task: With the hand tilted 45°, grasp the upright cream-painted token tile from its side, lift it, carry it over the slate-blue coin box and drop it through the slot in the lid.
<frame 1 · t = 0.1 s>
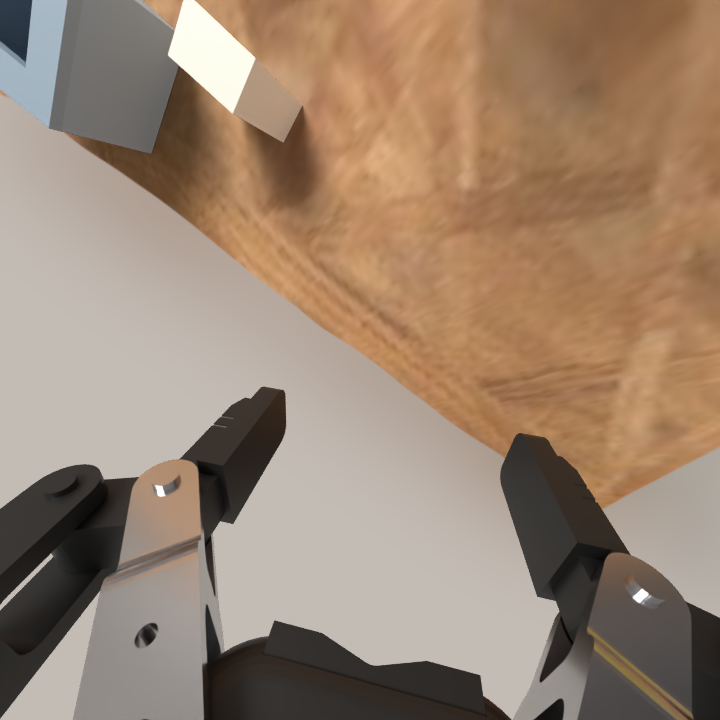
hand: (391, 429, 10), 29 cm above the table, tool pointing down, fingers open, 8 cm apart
token: (269, 103, 31), on the table
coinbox: (111, 52, 31), on the table
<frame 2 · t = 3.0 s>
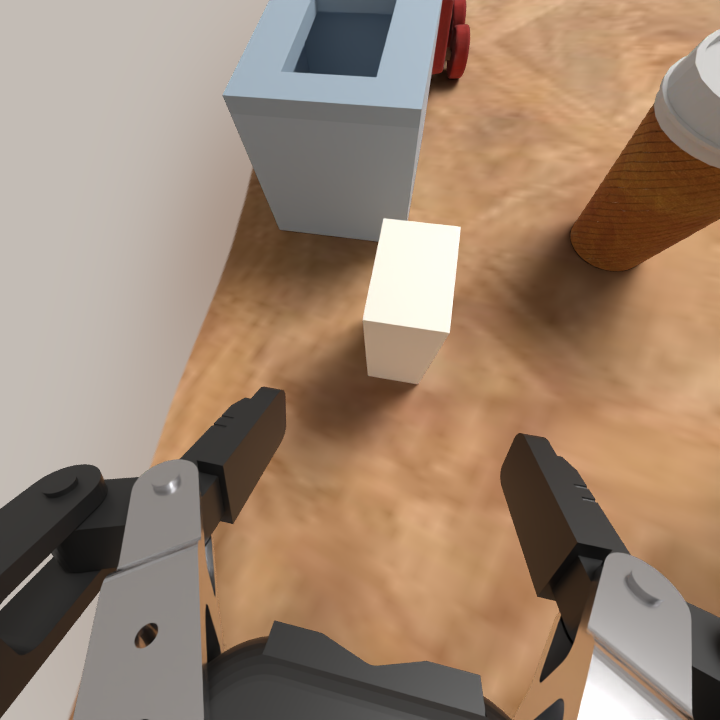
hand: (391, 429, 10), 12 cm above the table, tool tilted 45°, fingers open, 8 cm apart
token: (398, 344, 24), on the table
disposable coffee cup: (605, 243, 26), on the table
toy fire truck: (428, 64, 35), on the table
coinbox: (354, 181, 29), on the table
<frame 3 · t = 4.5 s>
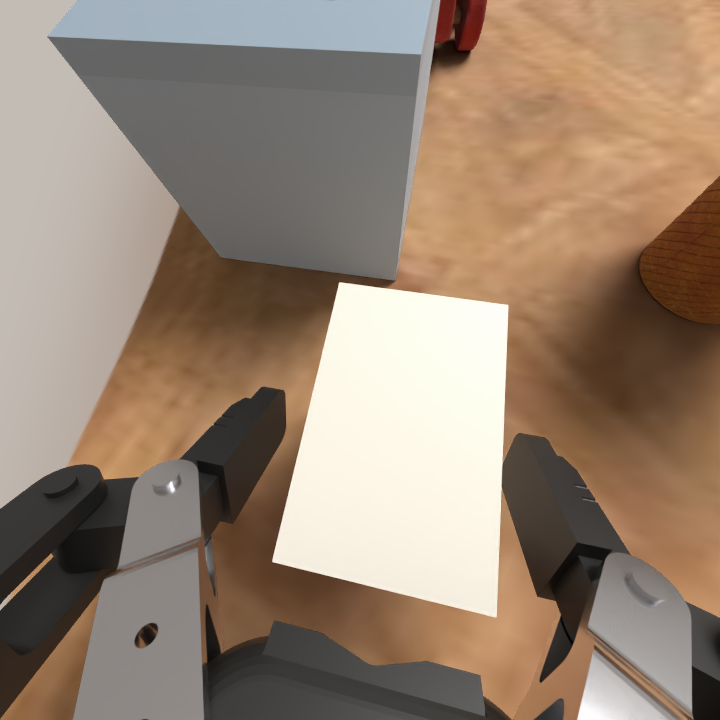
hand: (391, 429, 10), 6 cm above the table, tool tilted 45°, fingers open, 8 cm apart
token: (386, 441, 15), on the table
disposable coffee cup: (691, 279, 18), on the table
toy fire truck: (430, 34, 27), on the table
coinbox: (328, 188, 21), on the table
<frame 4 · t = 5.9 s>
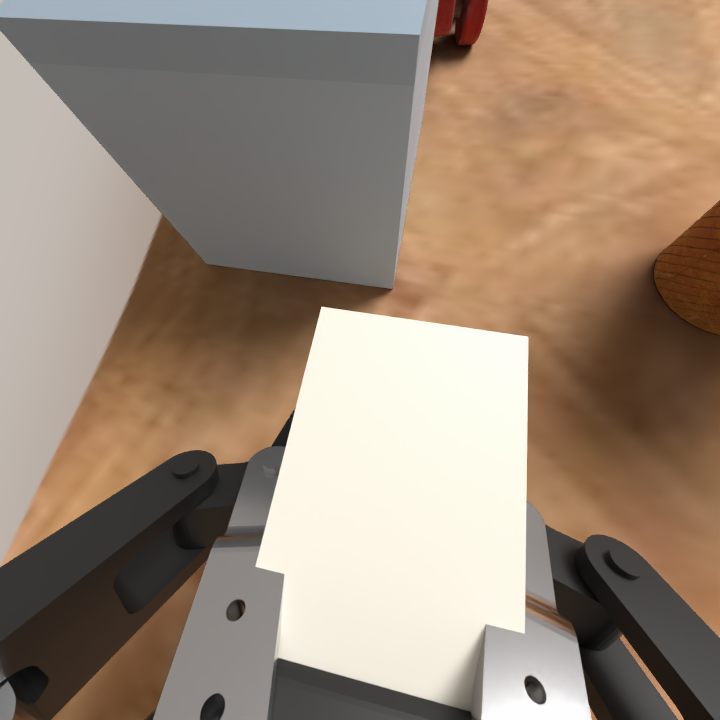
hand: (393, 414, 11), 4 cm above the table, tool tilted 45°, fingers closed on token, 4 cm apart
token: (383, 465, 14), on the table, touching gripper
disposable coffee cup: (709, 287, 16), on the table
toy fire truck: (430, 28, 26), on the table
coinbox: (321, 189, 20), on the table
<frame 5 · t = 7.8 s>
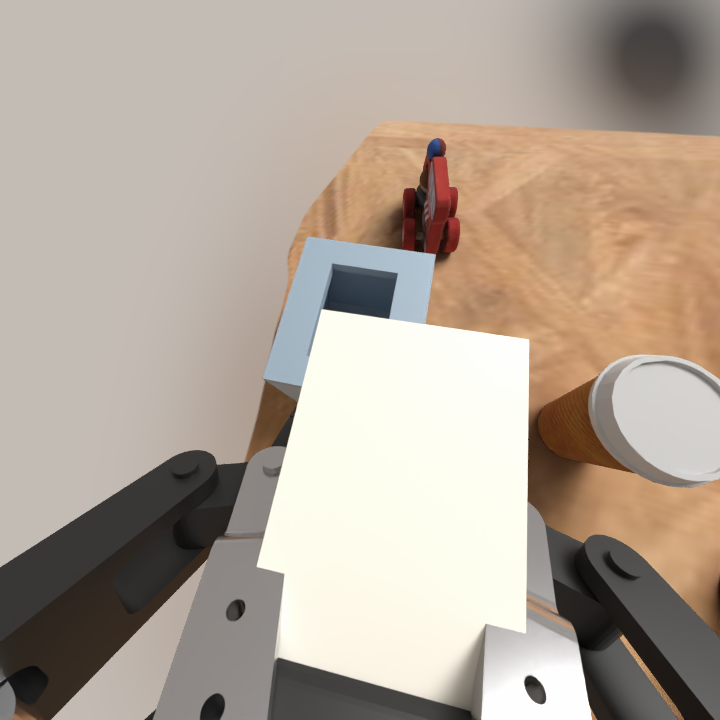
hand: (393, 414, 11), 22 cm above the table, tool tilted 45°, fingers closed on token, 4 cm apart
token: (383, 466, 14), point 18 cm above the table, touching gripper
disposable coffee cup: (566, 429, 31), on the table
toy fire truck: (425, 231, 41), on the table
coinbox: (360, 355, 35), on the table
when the fingers open (17 cm above the table, at t = 9.8 s): token drops 12 cm, resting on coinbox.
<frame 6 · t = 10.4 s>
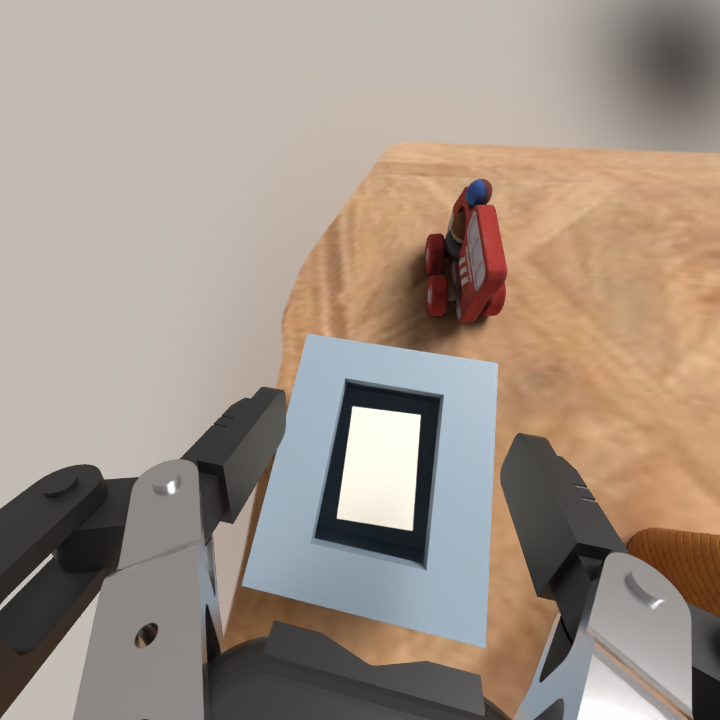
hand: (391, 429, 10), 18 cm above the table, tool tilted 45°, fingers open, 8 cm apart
token: (378, 461, 26), point 1 cm above the table, touching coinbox
disposable coffee cup: (665, 571, 23), on the table
toy fire truck: (455, 284, 32), on the table
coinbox: (378, 460, 27), on the table
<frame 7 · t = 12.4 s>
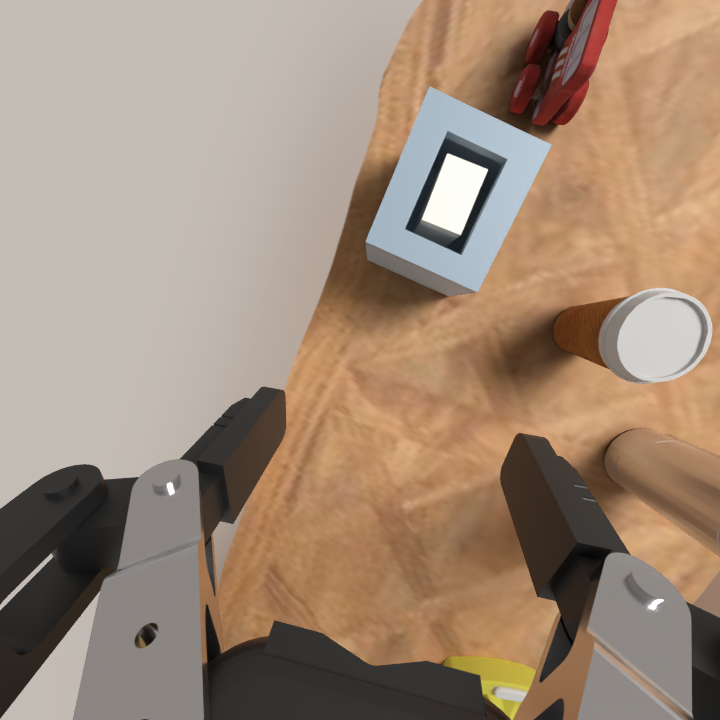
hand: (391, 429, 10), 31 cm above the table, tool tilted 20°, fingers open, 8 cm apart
token: (432, 225, 37), point 1 cm above the table, touching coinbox
ashtray: (489, 690, 52), on the table
disposable coffee cup: (575, 329, 39), on the table
toy fire truck: (544, 84, 35), on the table
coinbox: (431, 227, 38), on the table
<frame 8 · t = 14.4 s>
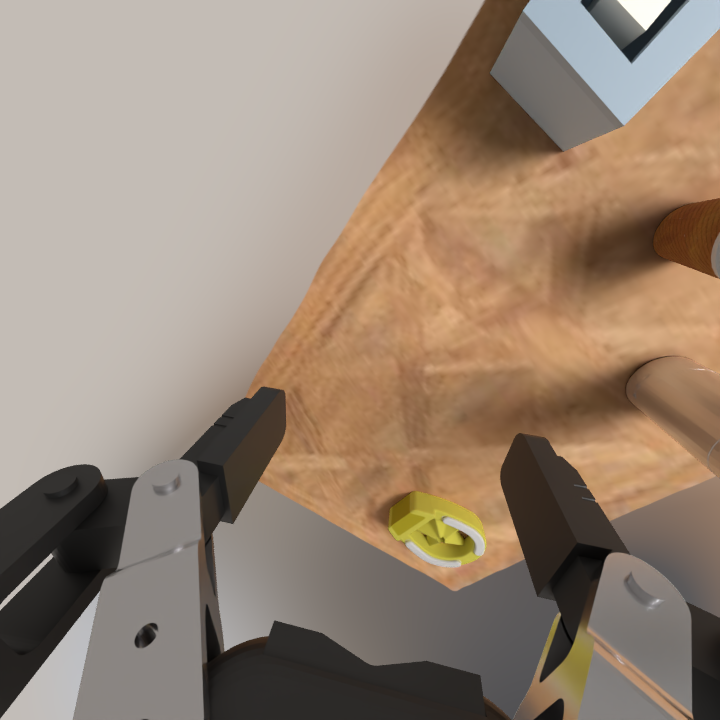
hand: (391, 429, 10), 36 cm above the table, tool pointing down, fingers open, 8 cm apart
token: (591, 36, 29), point 1 cm above the table, touching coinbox
ashtray: (437, 521, 66), on the table
disposable coffee cup: (683, 232, 35), on the table
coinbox: (586, 41, 30), on the table
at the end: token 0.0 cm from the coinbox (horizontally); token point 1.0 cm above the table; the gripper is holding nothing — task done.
